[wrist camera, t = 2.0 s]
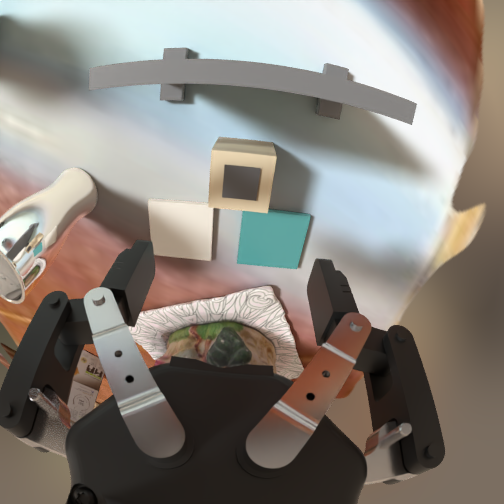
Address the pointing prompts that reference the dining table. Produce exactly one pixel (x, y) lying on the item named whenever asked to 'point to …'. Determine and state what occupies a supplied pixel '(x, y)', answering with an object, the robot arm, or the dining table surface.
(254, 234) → the pad
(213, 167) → the beige cube
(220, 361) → the cookie jar
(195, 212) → the pad
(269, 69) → the screen
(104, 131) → the dining table surface
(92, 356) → the coffee box
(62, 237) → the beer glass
